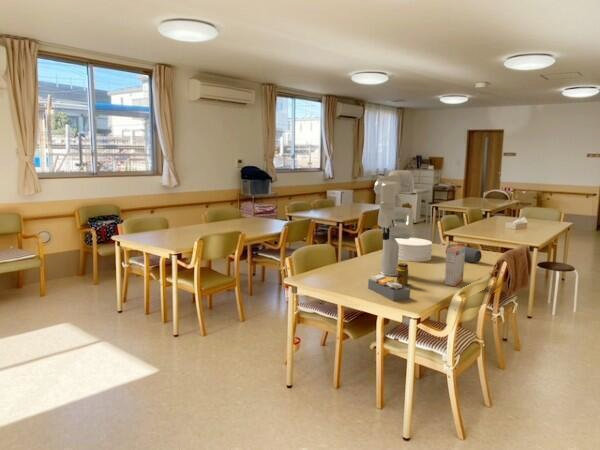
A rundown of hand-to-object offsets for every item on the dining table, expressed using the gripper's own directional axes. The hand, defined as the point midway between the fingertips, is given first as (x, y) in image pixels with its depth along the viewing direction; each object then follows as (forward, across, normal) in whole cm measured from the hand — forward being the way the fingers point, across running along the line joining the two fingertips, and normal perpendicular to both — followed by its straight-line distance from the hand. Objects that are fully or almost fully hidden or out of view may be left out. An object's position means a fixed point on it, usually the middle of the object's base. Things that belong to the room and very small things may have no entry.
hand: (385, 239), depth 247 cm
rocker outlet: (+19, +20, -8) cm, 29 cm away
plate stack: (+30, -53, +59) cm, 85 cm away
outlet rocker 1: (+20, +6, -8) cm, 22 cm away
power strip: (+26, +13, -6) cm, 30 cm away
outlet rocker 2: (+20, +13, -8) cm, 25 cm away
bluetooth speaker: (+30, -31, +87) cm, 97 cm away
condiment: (+26, +3, +11) cm, 29 cm away
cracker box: (+27, +10, +41) cm, 50 cm away
